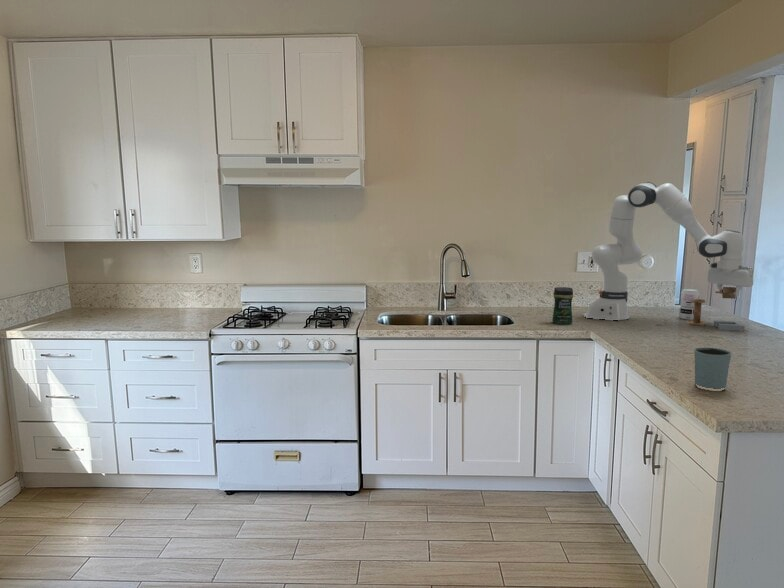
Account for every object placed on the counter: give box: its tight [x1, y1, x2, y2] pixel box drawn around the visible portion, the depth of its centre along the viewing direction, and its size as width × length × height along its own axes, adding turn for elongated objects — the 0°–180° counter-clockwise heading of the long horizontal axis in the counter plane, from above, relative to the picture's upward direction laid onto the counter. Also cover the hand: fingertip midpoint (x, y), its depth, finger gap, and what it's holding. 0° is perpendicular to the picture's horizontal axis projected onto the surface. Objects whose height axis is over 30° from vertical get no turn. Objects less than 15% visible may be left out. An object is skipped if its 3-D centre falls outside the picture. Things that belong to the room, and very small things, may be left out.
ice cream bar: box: [714, 286, 737, 300], centre depth 253 cm, size 8×3×5 cm, turn 64°
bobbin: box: [688, 298, 706, 327], centre depth 264 cm, size 7×7×12 cm
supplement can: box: [679, 288, 700, 321], centre depth 277 cm, size 8×8×15 cm
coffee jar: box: [552, 286, 574, 325], centre depth 272 cm, size 10×8×19 cm
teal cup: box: [693, 347, 732, 389], centre depth 172 cm, size 10×10×12 cm
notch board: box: [713, 319, 746, 331], centre depth 255 cm, size 10×11×2 cm
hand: (728, 294), depth 252 cm, fingers closed on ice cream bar, 6 cm apart
